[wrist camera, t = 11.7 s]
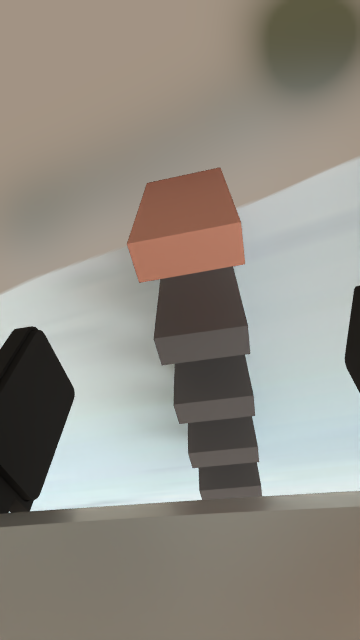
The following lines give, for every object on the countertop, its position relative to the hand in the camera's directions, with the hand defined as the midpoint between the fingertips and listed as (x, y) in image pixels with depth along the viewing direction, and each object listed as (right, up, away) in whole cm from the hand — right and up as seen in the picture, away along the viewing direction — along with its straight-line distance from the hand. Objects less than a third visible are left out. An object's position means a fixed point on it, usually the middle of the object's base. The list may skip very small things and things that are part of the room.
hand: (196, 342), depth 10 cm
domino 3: (+2, +1, +19) cm, 19 cm away
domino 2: (+1, +5, +16) cm, 17 cm away
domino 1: (0, +10, +13) cm, 16 cm away
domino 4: (+3, -4, +22) cm, 23 cm away
